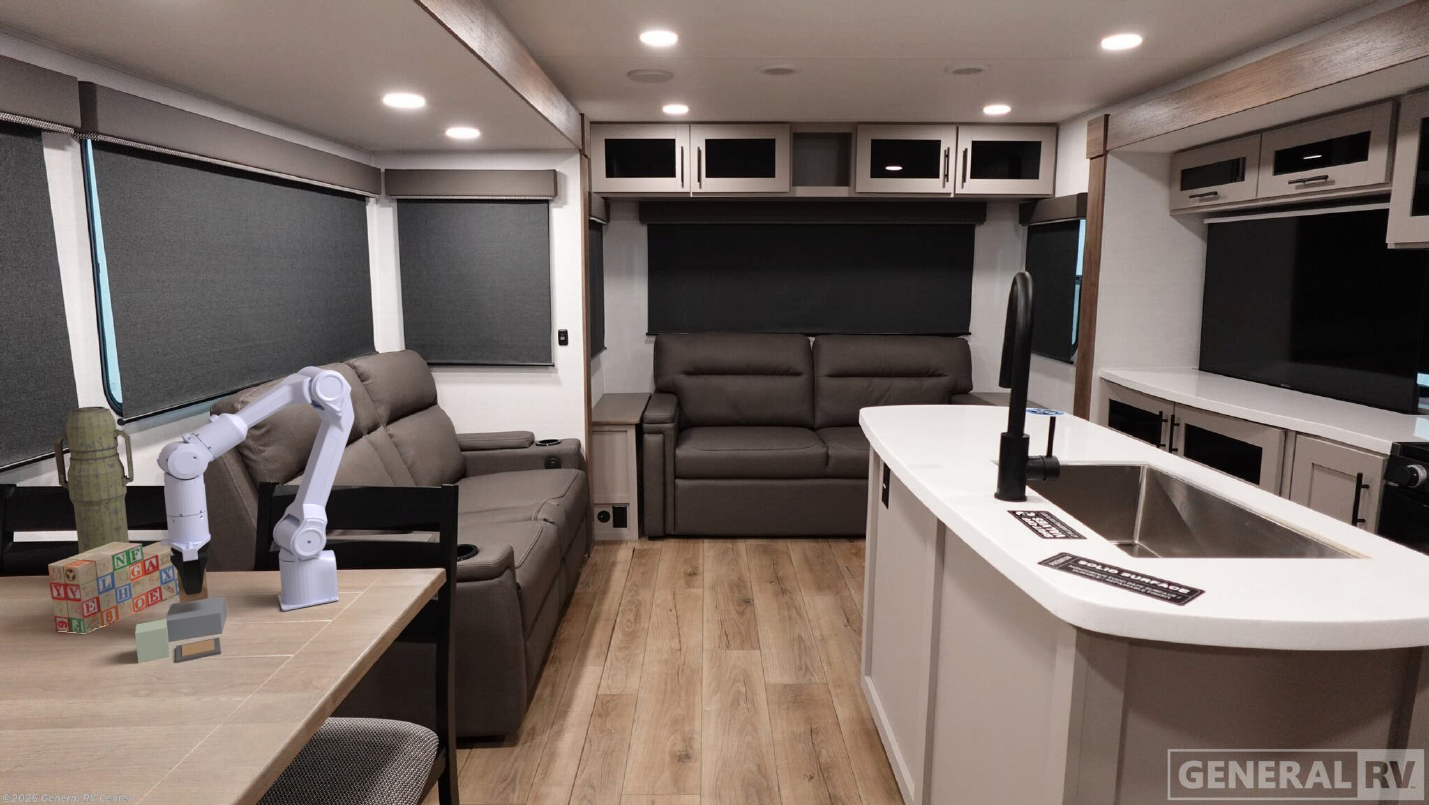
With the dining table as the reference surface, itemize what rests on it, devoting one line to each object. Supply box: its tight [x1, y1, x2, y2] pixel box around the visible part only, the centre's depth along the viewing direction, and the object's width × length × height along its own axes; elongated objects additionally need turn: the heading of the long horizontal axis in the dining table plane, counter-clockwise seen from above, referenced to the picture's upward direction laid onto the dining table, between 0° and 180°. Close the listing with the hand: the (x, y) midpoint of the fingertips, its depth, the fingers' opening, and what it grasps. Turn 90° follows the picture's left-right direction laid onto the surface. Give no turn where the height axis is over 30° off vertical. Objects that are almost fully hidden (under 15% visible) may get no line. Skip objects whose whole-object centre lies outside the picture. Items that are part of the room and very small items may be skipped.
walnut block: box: [177, 568, 209, 603], centre depth 137 cm, size 4×4×5 cm
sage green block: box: [134, 618, 170, 664], centre depth 128 cm, size 4×4×5 cm
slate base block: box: [164, 595, 228, 643], centre depth 138 cm, size 8×8×4 cm
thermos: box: [52, 406, 135, 554], centre depth 156 cm, size 9×12×35 cm
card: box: [175, 637, 222, 664], centre depth 130 cm, size 6×6×1 cm
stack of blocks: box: [48, 541, 179, 633], centre depth 146 cm, size 21×6×12 cm, turn 169°
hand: (193, 589), depth 137 cm, fingers closed on walnut block, 4 cm apart
